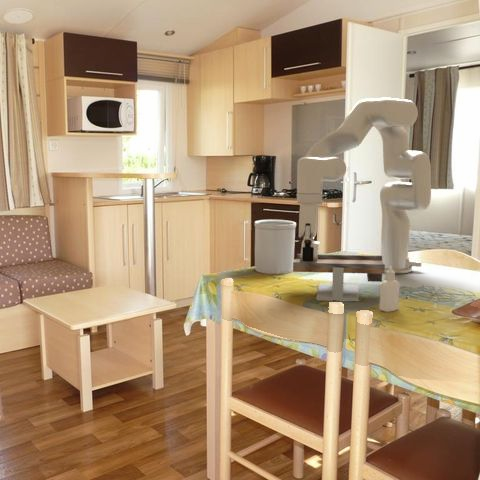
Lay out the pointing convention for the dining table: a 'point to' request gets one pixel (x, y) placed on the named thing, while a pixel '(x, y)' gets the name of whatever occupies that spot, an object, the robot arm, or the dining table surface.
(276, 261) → the utensil holder
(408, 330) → the dining table surface
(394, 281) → the eye dropper bottle
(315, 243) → the rider
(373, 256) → the beam
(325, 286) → the fulcrum
